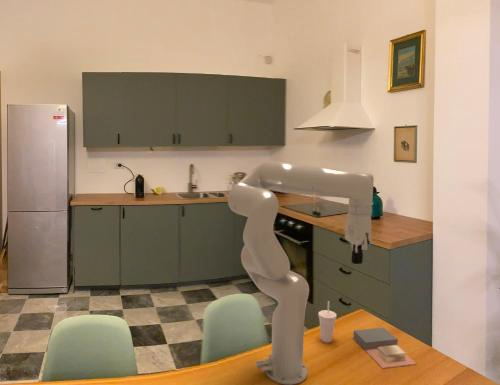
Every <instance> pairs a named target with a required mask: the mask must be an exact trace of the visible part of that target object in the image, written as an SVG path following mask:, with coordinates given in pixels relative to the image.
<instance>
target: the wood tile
mask: <svg viewBox="0 0 500 385" xmlns="http://www.w3.org/2000/svg"><path fill="white" fill-rule="evenodd" d="M377 354H378V355H379V356H380V357H381V358H382V359H383V360H384V361H385V362H394V361H403V360H405V355H407V353H406V352H405V351H404V350H403V349H402V348H401V347H400V346H398V344H397V345H392V346H383V347H378V350H377Z"/></svg>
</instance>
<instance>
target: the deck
mask: <svg viewBox="0 0 500 385" xmlns="http://www.w3.org/2000/svg"><path fill="white" fill-rule="evenodd" d="M352 337H353V338H352V339H353V340H354V341H355V342H356V343H357V344H358V345H359V346H360V347H361V348H362V350H364V351H365V350H369V349H378V347H383V346H392V345H397V346H398V341H399V340H398V338H397V337H396V336H395V335H394V334H392V333H391V332H389V331H388V329H387V328H385V327H375V328H374V327H373V328H365V329H357V330H356V329H355V330H353V336H352Z"/></svg>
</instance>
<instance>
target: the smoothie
mask: <svg viewBox="0 0 500 385" xmlns="http://www.w3.org/2000/svg"><path fill="white" fill-rule="evenodd" d="M317 316H318V319H319V331H320V340H321V341H322V342H324V343H330V342H332V339H333V335H334V329H335V323H336V319H337V318H338V317H337V313H336V312H335V311H332V310H330V301H327V309H323V310H320V311H318V314H317Z"/></svg>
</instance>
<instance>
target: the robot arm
mask: <svg viewBox="0 0 500 385" xmlns="http://www.w3.org/2000/svg"><path fill="white" fill-rule="evenodd" d="M374 179H375V178H374V175H373V174H372V173H369V172H346V171H339V170H334V169H330V168H326V167H319V166H315V165H306V164H299V163H292V162H287V161H275V160H266V161H264V162H262V163H260V164H258V166H256V167H255V168H253V169H252V170H251V171H250V172H249V173H247V174H246V175H245V176H244V177H243V178H242V179H241V180H239V181H238V182H237V183H236V184H234V186H233V187H232V188H231V189H230V191H229V192H228V195H227V204H228V207H229V209H230V210H231V211H232V212H233V213H235V214H237V215H240V216H244V217H247V219H246V222H245V226H244V229H243V233H242V234H243V235H242V240H243V243H244V245H243V247H242V249H241V253H240V260H241V265H242V267H243V268H244V270H245V271H246V273H247V275H248V276H249V278H251V280H252V281H253V283H254V284H255V287H257V288H258V290H260V292H262V293H263V294H265V295H267V296H268V297H270V298H272V299H273V300H276V302H277V306H276V307H275V309H274V311H273V313H272V319H271V354H269V355H268V358H265V360H256V361H255V368H256V369H260V368H261V372H265V374H266V375H267V377H268V378H269V379H270V380H271V381H273V382H275V383H278V384H281V385H296V384H300V383H302V382H304V381H305V380H306V379H307V377H308V368H307V366H306V365H305V364H304V363H303V360H304V359H303V358H304V339H305V338H304V337H305V336H304V335H305V314H306V306H307V303H308V299H309V295H310V294H309V293H310V286H309V283H308V281H307V279H305V278H304V277H303V276H302V275H300V273H297V272H294V271H292V270H291V262H290V260H289V257H288V255H287V253H286V252H285V250H284V249H283V247H282V245H281V244H280V242H279V240H278V238H277V236H276V235H275V233H274V224H275V220H276V217H277V215H278V212H279V207H280V206H279V200H278V197H277V195H276V194H275V193H274V192H273V191H275V192H277V193H279V192H280V193H285V194H295V195H296V194H297V195H307V196H315V197H317V196H318V197H330V198H342V199H343V198H344V199H348V209H347V210H348V212H347V215H346V222H345V229H344V238H345V241H347V242H349V243H350V245H351V263H352V264H354V265H360V264H361V265H362V264H363V260H364V259H363V258H364V253H365V251H367V250H368V248H369V247H368V246H370V245H371V242H372V213H373V198H374V196H373V194H374V181H375V180H374Z"/></svg>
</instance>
